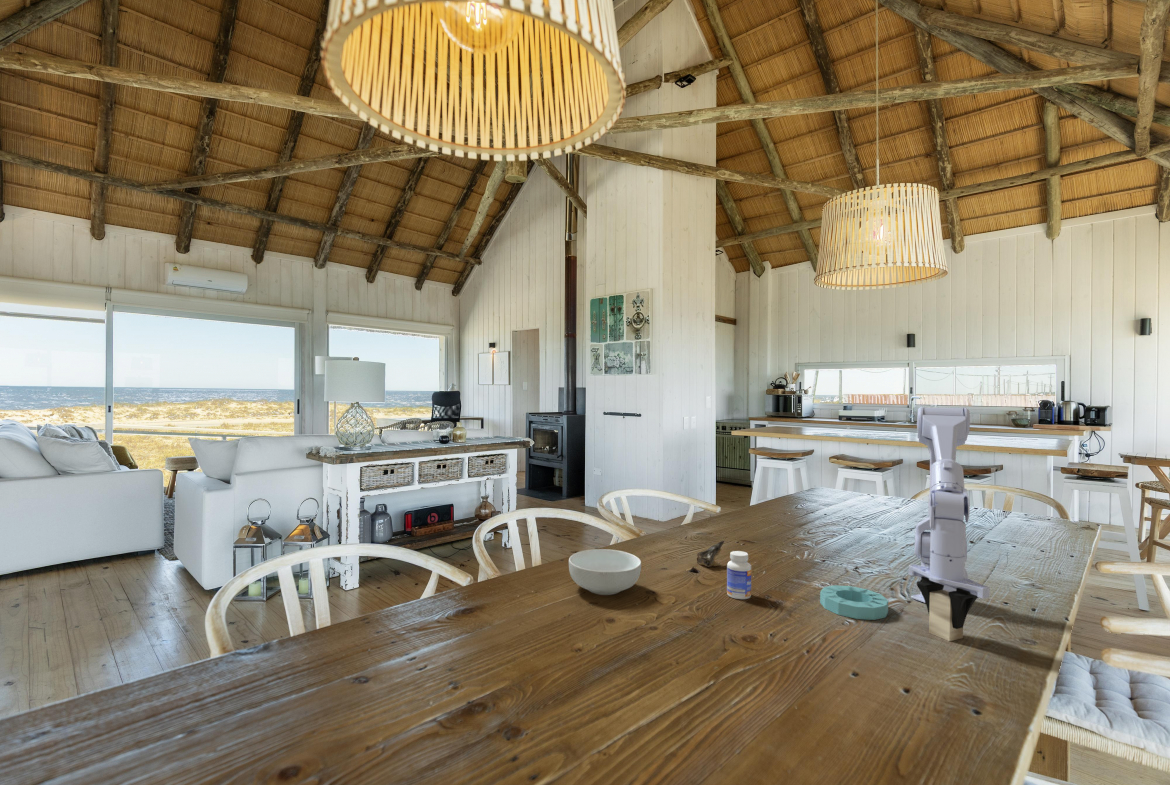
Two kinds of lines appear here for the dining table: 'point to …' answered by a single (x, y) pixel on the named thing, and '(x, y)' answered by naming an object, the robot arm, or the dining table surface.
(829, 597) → the bead ring
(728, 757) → the dining table surface
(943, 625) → the ash peg
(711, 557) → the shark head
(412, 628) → the dining table surface
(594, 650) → the dining table surface
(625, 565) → the cereal bowl
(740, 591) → the pill bottle
